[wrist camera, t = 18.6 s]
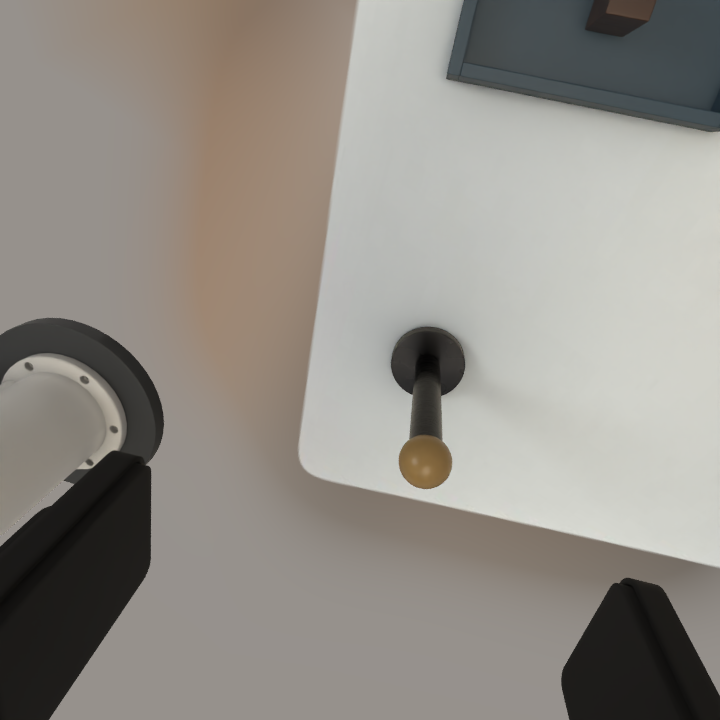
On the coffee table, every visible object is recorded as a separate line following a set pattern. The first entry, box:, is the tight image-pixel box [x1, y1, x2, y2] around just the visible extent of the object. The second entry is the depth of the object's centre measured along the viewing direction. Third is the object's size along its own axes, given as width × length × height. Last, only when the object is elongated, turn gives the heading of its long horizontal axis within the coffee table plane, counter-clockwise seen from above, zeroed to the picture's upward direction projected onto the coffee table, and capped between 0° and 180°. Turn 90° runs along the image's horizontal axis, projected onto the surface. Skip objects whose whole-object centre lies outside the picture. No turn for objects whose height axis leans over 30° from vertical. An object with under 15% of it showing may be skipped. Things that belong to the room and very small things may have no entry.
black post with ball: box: [391, 327, 465, 489], centre depth 33 cm, size 6×6×16 cm
